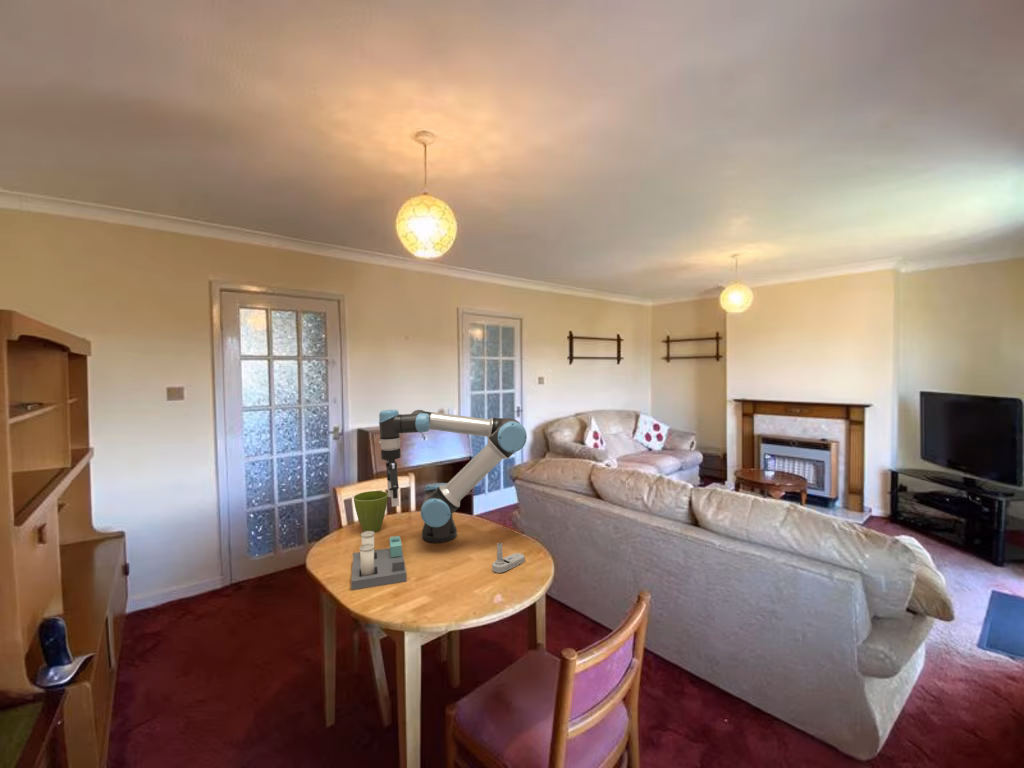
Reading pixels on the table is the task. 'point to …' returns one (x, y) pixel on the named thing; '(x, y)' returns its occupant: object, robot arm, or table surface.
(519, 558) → the electronic device
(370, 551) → the cream peg
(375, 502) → the flower pot
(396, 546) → the lid
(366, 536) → the white cylinder
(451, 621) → the table surface
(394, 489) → the robot arm
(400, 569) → the housing
